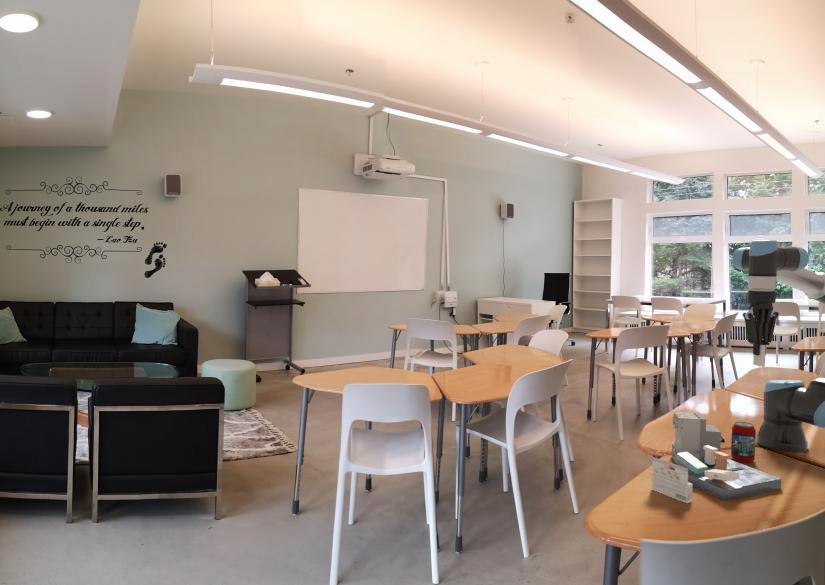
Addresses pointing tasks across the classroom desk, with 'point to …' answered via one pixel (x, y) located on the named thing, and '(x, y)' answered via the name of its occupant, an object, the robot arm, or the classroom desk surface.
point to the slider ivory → (710, 454)
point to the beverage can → (743, 442)
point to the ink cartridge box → (671, 481)
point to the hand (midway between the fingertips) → (758, 365)
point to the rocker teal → (691, 462)
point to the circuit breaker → (694, 435)
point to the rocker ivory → (722, 475)
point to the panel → (734, 481)
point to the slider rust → (721, 460)
